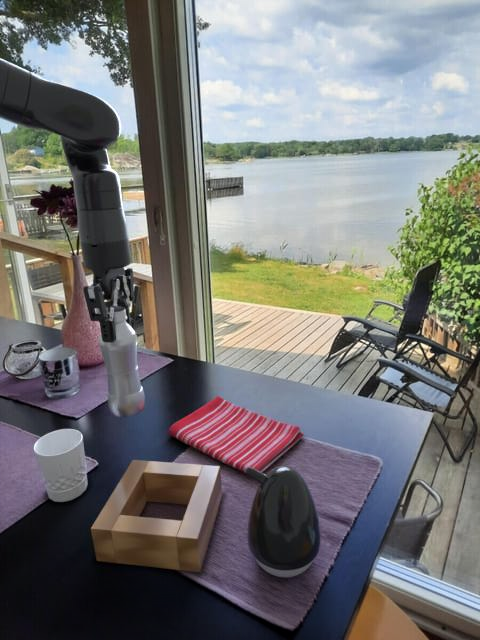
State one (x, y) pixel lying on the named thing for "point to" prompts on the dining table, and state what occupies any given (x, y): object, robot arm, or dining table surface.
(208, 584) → the dining table surface
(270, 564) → the pump dispenser
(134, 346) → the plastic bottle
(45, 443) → the white cup
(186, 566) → the holder
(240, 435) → the dish towel
